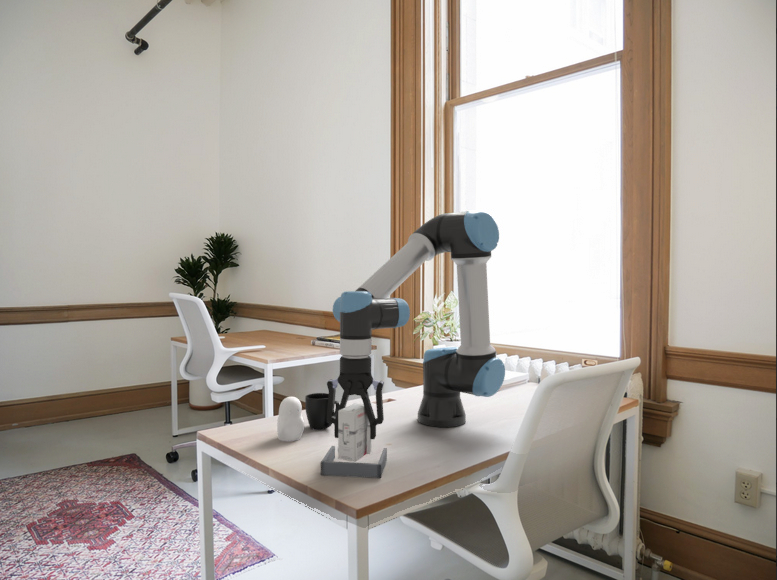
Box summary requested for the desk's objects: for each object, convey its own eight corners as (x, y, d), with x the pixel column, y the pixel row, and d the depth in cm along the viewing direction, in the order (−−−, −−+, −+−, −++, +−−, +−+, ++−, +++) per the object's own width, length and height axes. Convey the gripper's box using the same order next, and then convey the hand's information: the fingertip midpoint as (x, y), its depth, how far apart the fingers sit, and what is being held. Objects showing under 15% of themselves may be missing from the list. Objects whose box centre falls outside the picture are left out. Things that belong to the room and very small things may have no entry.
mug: (327, 435, 157) (327, 402, 157) (299, 427, 165) (299, 396, 165) (347, 429, 164) (347, 397, 163) (319, 421, 171) (319, 391, 171)
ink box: (354, 448, 137) (354, 401, 136) (372, 451, 135) (372, 403, 134) (337, 459, 129) (337, 409, 129) (355, 462, 127) (355, 411, 126)
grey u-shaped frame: (386, 459, 137) (386, 448, 137) (380, 477, 125) (380, 464, 125) (331, 457, 139) (331, 445, 139) (320, 475, 127) (320, 462, 127)
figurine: (281, 444, 149) (281, 400, 149) (273, 436, 156) (273, 394, 156) (306, 440, 153) (306, 397, 152) (297, 433, 159) (297, 392, 159)
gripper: (396, 354, 134) (396, 448, 135) (320, 352, 136) (319, 445, 137) (393, 359, 126) (393, 458, 127) (312, 357, 128) (312, 455, 129)
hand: (355, 451), depth 132 cm, fingers closed on ink box, 6 cm apart
